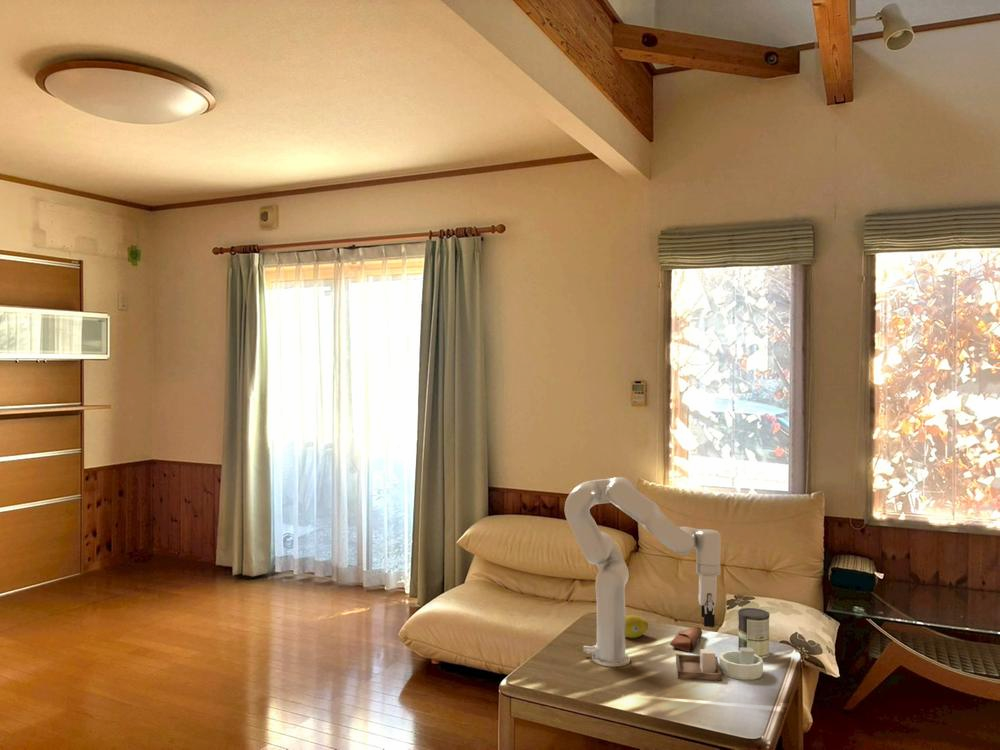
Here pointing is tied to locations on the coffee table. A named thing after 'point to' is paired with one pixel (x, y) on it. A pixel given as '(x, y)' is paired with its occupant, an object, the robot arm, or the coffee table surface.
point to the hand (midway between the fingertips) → (707, 621)
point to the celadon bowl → (740, 666)
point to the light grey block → (746, 656)
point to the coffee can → (754, 630)
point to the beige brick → (707, 660)
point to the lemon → (635, 626)
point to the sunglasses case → (687, 639)
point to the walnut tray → (695, 669)
